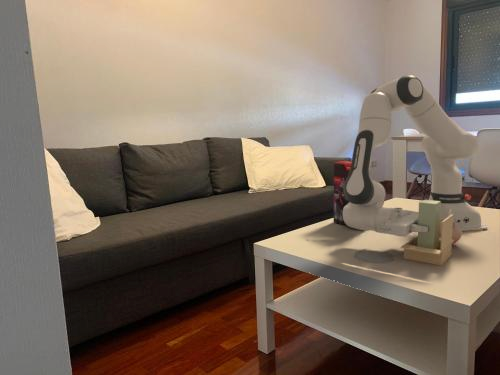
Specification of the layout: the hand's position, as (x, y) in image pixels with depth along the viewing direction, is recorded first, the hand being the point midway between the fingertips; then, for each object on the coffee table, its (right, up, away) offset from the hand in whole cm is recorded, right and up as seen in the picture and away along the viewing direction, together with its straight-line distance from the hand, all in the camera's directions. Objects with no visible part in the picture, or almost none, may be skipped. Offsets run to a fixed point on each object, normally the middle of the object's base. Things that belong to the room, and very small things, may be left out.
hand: (431, 226), depth 125 cm
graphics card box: (-14, -4, +45) cm, 48 cm away
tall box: (0, -10, +2) cm, 10 cm away
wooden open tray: (0, -10, +2) cm, 11 cm away
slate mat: (-17, -11, +4) cm, 21 cm away
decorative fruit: (+12, -8, +14) cm, 20 cm away
